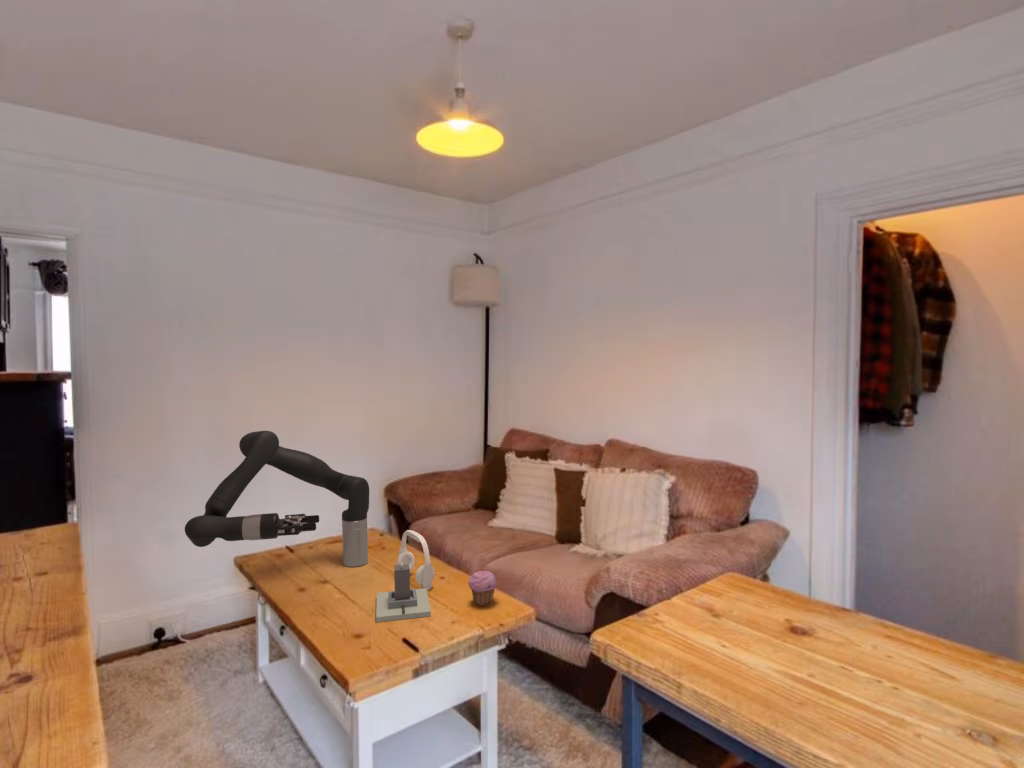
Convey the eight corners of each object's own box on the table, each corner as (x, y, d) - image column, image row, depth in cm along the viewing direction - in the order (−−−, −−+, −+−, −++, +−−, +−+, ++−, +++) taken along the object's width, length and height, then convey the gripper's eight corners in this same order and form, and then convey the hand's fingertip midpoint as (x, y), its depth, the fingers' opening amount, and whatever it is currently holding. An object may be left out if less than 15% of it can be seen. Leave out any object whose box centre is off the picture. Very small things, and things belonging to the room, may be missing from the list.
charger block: (394, 599, 180) (394, 561, 179) (409, 598, 181) (408, 559, 180) (395, 605, 176) (394, 566, 175) (410, 604, 177) (409, 564, 176)
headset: (437, 589, 191) (436, 537, 190) (418, 595, 187) (417, 541, 186) (411, 572, 207) (410, 523, 207) (393, 576, 203) (392, 527, 203)
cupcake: (464, 601, 181) (463, 570, 181) (486, 594, 187) (486, 564, 186) (479, 611, 174) (478, 579, 174) (502, 603, 179) (501, 572, 179)
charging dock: (376, 597, 185) (376, 587, 185) (426, 592, 189) (426, 582, 189) (376, 622, 168) (375, 610, 168) (430, 616, 171) (430, 604, 171)
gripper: (255, 521, 164) (314, 516, 167) (265, 508, 178) (319, 504, 181) (256, 546, 164) (315, 541, 168) (266, 532, 178) (320, 527, 182)
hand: (317, 522), depth 175 cm, fingers open, 8 cm apart
